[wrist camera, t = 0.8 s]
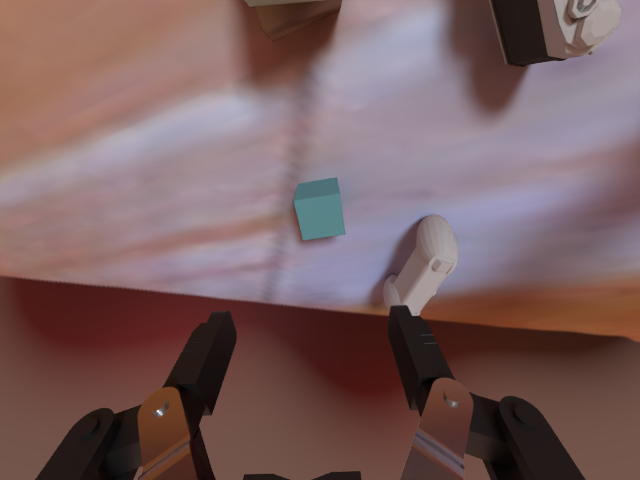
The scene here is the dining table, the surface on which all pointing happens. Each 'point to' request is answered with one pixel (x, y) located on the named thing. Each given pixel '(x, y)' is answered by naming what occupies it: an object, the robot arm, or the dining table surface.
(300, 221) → the teal block
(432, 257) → the game controller
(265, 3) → the sage block
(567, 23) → the camera
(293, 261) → the dining table surface
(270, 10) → the walnut base block
